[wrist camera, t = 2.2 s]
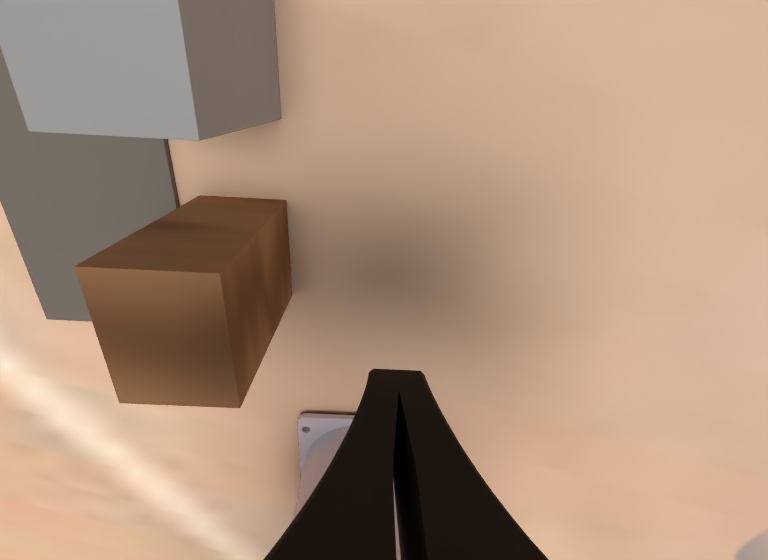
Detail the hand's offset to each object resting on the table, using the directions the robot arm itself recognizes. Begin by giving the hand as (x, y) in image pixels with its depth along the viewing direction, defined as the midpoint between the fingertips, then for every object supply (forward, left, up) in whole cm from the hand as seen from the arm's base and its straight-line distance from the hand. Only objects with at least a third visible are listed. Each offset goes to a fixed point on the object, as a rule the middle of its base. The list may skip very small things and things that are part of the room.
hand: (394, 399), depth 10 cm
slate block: (+8, +7, -10) cm, 15 cm away
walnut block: (0, +7, -10) cm, 12 cm away
